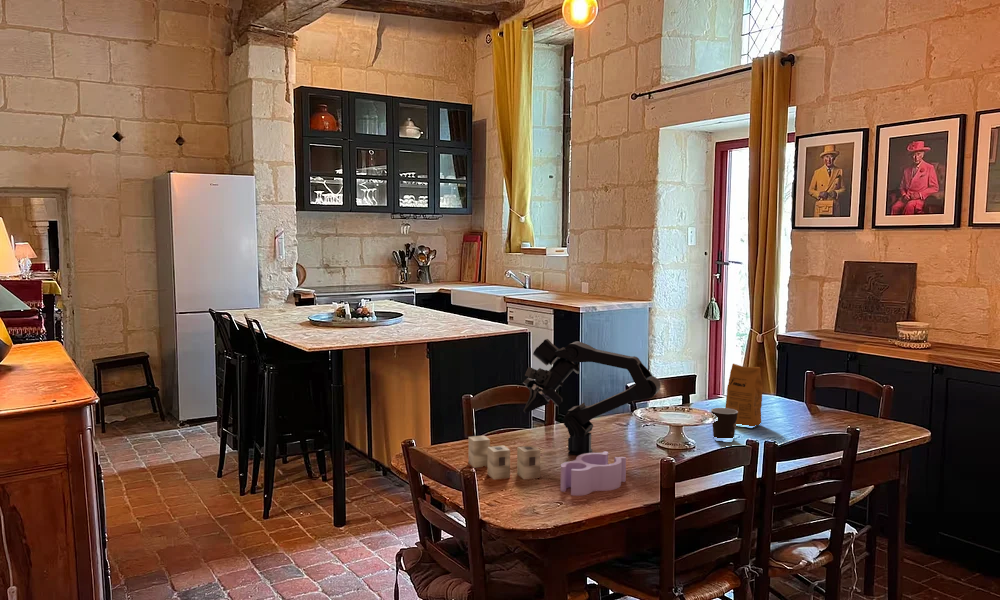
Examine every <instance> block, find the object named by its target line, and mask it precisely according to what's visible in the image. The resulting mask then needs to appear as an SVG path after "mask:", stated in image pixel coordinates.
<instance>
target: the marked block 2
mask: <svg viewBox="0 0 1000 600" xmlns="http://www.w3.org/2000/svg"><path fill="white" fill-rule="evenodd" d="M516 451H517V452H516V453H517V454H516V455H517V456H516V462H517V463H516V469H517V470H516V471H517V472H516V474H517V476H519V477H520V478H521V479H523V480H531V479H538V478H541V449H540V448H539V447H537V446H535V445H534V444H533V445H531V444H530V445H522V446H517V448H516Z"/></svg>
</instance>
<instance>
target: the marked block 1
mask: <svg viewBox="0 0 1000 600" xmlns="http://www.w3.org/2000/svg"><path fill="white" fill-rule="evenodd" d="M486 468H487V471H486V473H487V475H488V476H489V477H490V479H492V480H502V479H509V478H511V449H510V448H508V447H507V446H505V445H493V446H490V447H488V466H487V467H486Z"/></svg>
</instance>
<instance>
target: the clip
mask: <svg viewBox="0 0 1000 600" xmlns="http://www.w3.org/2000/svg"><path fill="white" fill-rule="evenodd" d="M613 460H614V461H613V463H609V451H602V452H591V453H585V454H581V455H577V456H576V458H575V459H574V460H571V461H570V460H569V461H564V462H562V463H561V464H560V492H566V491H567V489H569V488H570V496H577V497H579V496H586V495H589V494H590V493H592V492H596V491H597V492H600V491H601V492H602V491H603V492H605V491H613V490H616V489H617V490H618V489H619V488H620V487H621V486H622V483H625V482H626V480H627V479H626V478H627V477H626V475H627V474H626V473H627V472H626V471H627V467H626V466H627V457H626V456H614V459H613Z"/></svg>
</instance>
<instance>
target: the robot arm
mask: <svg viewBox="0 0 1000 600" xmlns="http://www.w3.org/2000/svg"><path fill="white" fill-rule="evenodd" d="M532 355H533V356H534V357H535V358H537V359H538V360H539V361H540V362H541V363H542V364H544V365H545V366H546V367H547V366H549V365H550V366H551V367H550V368H549V370H547V369H543V368H541V367H539V368H533V367H531V366H528V367H527V370H526V371H525V374H524V376H525V377H527V378H526V379H524V381H523V382H522V384H523V385H525V387H526V388H527V389H528V390H529V397H528V400H527V402H526V404H525V406H524V408H523V412H524V413H525V414H527V413H530V412H533V411H535V410H537V409H539V408H541V407H544V406H546V405H550V400H551V401H552V403H553V405H555V406H556V407H558V408H559V407H560V406H561V404H562V403H563V397H562V396H561V395H560V394H559V393H558V392H557V390H558V389H559V388H560V387H563V386H565V384H564V381H565V380H566V379H567V378H568V377H569V375H571V374H572V372H574V373H576V374H577V375H578V374H579V373H580V368H579V367H580V364H579V363H595V364H601V365H603V366H604V365H605V366H610V367H614V368H618V369H624V370H627V371H628V373H629V375H630V377H631V379H632V381H633V383H634V385H633V386H631V387H629V388H628V389H626V390H623V391H620V392H619V393H617V394H615V395H612V396H610V397H608V398H607V397H606V398H604V399H603V400H600V401H599V402H596V403H594V404H591V405H586V404H585V402H582V403H581V404H579V405H575V406H572V407H571V408H570V409H568V410H567V413H566V414H564V416H563V425H564V426H565V428H566V429H567V432H568V435H569V437H568V438H567V440H568V441H567V451H568V453H567V454H569V455H577V456H579V455H581V454H585V453H593V448H592V430H593V427H594V424H593V423H592V422H591V420H593V419H594V418H597V417H599V416H601V415H603V414H606V413H608V412H611V411H613V410H615V409H618V408H620V407H623V406H625V405H627V404H630V403H632V402H637V401H644V400H648V399H651V398H653V397H655V396H656V395H657V394H658V393H659V391H660V390H661V382H660V380H659V379H658V378H657V377H656V376H653V374H652V373H651V372H650V370H649V369H648V368H647V367H646V366H645V365H644V363H642V361H641V360H640V358H639V357H637V356H635V355H634V356H630V355H625V354H621V353H617V352H612V351H606V350H602V349H597V348H595V347H593V346H591V345H590V344H588V343H587V344H586V343H585V342H581V341H573V342H572V343H569V344H567V345H565V347H564V346H563V347H561V348H559V347H557V346H556V345H555V344H554V343H552V342H551V340H549V339H548V338H546V339H544V340H543V342H541V343H540V344H539V345H538V346H536V348H535V349H534V350H533V353H532Z"/></svg>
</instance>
